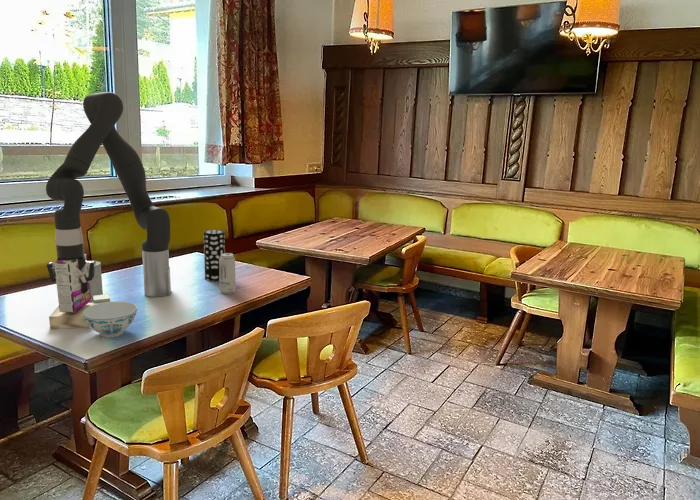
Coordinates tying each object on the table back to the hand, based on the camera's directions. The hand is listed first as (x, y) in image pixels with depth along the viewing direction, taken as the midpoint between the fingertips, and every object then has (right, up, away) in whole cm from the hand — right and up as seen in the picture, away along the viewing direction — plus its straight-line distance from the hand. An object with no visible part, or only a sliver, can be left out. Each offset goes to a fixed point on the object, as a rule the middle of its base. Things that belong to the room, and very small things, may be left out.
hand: (74, 293), depth 169 cm
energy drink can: (+41, -3, +37) cm, 55 cm away
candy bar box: (0, -5, +1) cm, 5 cm away
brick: (+3, -7, +12) cm, 14 cm away
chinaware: (+15, -12, -6) cm, 20 cm away
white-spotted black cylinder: (+31, +2, +54) cm, 62 cm away
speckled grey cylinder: (-8, -3, +26) cm, 28 cm away
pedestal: (0, -9, +2) cm, 9 cm away
